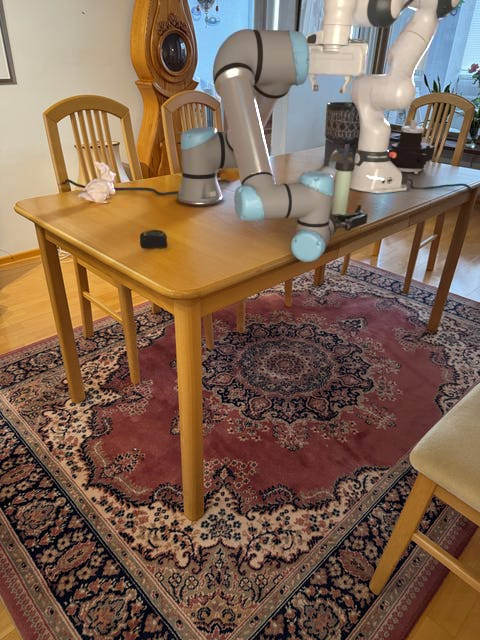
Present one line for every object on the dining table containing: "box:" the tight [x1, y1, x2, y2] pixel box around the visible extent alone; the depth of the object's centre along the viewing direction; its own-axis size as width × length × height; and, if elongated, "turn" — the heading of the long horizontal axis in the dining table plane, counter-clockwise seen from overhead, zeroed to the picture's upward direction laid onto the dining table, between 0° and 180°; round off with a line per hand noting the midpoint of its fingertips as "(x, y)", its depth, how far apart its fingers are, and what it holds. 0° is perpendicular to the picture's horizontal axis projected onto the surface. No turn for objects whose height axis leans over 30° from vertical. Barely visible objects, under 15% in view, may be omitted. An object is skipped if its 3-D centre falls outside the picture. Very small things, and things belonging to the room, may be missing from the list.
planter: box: [323, 101, 360, 166], centre depth 204 cm, size 20×20×26 cm
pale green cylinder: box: [330, 170, 353, 218], centre depth 138 cm, size 4×4×17 cm
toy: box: [217, 168, 240, 183], centre depth 183 cm, size 11×6×15 cm
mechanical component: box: [388, 119, 436, 175], centre depth 204 cm, size 22×21×30 cm
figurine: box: [77, 160, 117, 204], centre depth 150 cm, size 8×15×13 cm, turn 145°
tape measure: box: [139, 229, 168, 250], centre depth 117 cm, size 7×7×4 cm
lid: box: [334, 159, 355, 172], centre depth 135 cm, size 6×6×2 cm
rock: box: [335, 147, 352, 154], centre depth 243 cm, size 13×9×6 cm, turn 131°
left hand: (335, 206), depth 133 cm, fingers open, 13 cm apart
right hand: (328, 92), depth 136 cm, fingers open, 8 cm apart
